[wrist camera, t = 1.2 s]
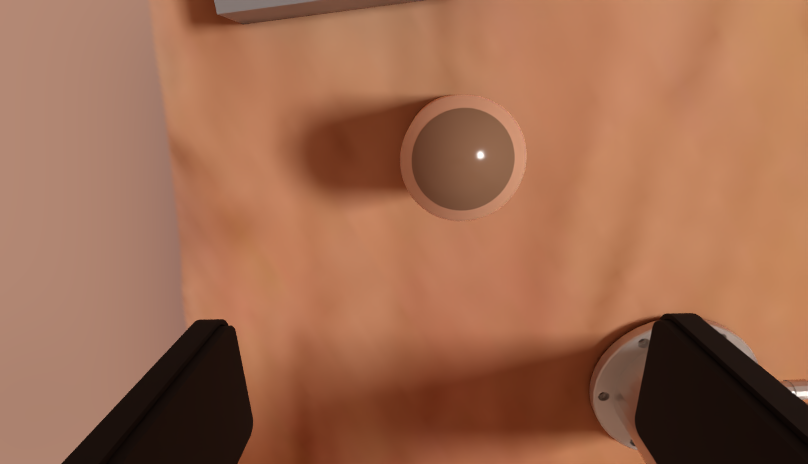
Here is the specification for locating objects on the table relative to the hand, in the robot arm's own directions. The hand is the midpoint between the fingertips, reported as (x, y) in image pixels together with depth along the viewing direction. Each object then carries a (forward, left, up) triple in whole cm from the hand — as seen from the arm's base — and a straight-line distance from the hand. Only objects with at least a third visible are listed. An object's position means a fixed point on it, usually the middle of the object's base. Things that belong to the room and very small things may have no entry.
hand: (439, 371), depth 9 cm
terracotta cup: (-2, -3, -21) cm, 22 cm away
